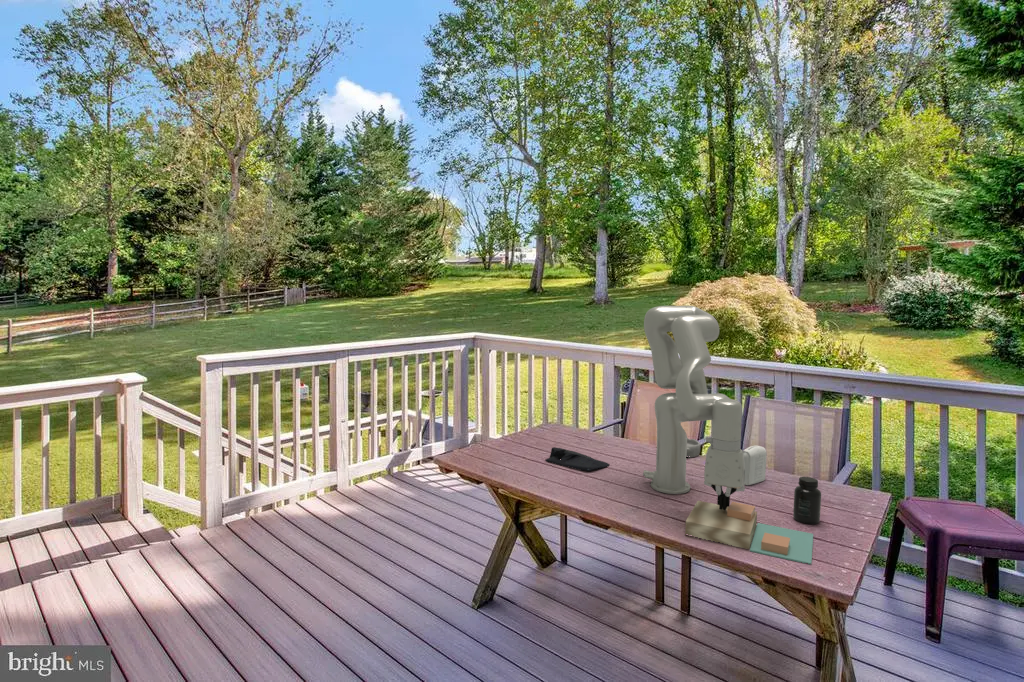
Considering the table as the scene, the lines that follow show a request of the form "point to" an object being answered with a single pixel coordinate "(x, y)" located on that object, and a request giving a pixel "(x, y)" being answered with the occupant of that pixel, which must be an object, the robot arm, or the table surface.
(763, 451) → the photo printer
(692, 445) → the dish
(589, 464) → the black folded cloth
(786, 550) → the tile
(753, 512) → the tile
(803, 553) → the rubber mat
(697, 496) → the table surface
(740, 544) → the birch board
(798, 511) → the supplement bottle
